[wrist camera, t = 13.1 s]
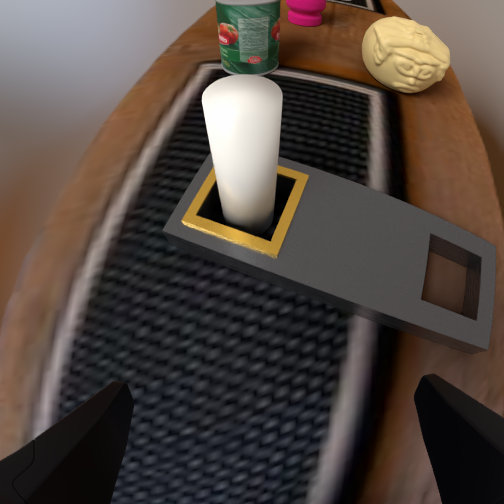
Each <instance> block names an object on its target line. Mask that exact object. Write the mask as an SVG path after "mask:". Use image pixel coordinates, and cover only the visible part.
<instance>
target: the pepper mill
mask: <svg viewBox="0 0 504 504" xmlns="http://www.w3.org/2000/svg"><path fill="white" fill-rule="evenodd" d="M286 4H287V5H288V7H289V8H290V9H291V10H290V11H289V12H288V20H289V21H290V22H291V23H294V24H297V25H301V26H318V25H320V24H321V20H322V15H321V14H320V12H322V11H323V10H324V9H325V7H326V0H286Z"/></svg>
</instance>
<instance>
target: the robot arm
mask: <svg viewBox="0 0 504 504" xmlns="http://www.w3.org/2000/svg"><path fill="white" fill-rule="evenodd" d="M414 401H415V405H416V409H417V413H418V418H419V422H420V427H421V432H422V436H423V440H424V443H425V446H426V449H427V452H428V455H429V459H430V462H431V465H432V468H433V472H434V475H435V479H436V482H437V486H438V489H439V493H440V497H441V501H442V504H504V418H503V417H501V416H500V415H498V414H497V413H495V412H494V411H492V410H490V409H489V408H487V407H486V406H484V405H483V404H481V403H479V402H478V401H476V400H475V399H473V398H472V397H470V396H469V395H467V394H465V393H464V392H462V391H461V390H459V389H458V388H456V387H455V386H453V385H451V384H450V383H448V382H447V381H445V380H444V379H442V378H441V377H439V376H437V375H436V374H429V375H424V376H423V377H422V378H421V380H420V382H419V385H418V387H417V389H416V391H415V395H414ZM133 408H134V401H133V398H132V395H131V393H130V390H129V387H128V385H127V384H126V383H125V382H120V381H113V382H111V383H110V384H108V385H107V386H106V387H104V388H103V389H102V390H100V391H99V392H98V393H96V394H95V395H94V396H92V397H91V398H90V399H88V400H87V401H86V402H84V403H83V404H82V405H80V406H79V407H77V408H76V409H75V410H73V411H72V412H71V413H69V414H68V415H67V416H65V417H64V418H62V419H61V420H60V421H58V422H57V423H56V424H54V425H53V426H51V427H50V428H49V429H47V430H46V431H45V432H43V433H42V434H40V435H39V436H38V437H36V438H35V440H32V441H30V442H29V443H28V444H26V445H25V446H23V447H22V448H20V449H19V450H17V451H16V452H14V453H13V454H11V455H9V456H7V457H6V458H4V459H2V460H0V504H110V502H111V499H112V495H113V491H114V488H115V484H116V481H117V477H118V474H119V470H120V467H121V463H122V460H123V457H124V453H125V450H126V446H127V441H128V435H129V429H130V424H131V419H132V413H133Z"/></svg>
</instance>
